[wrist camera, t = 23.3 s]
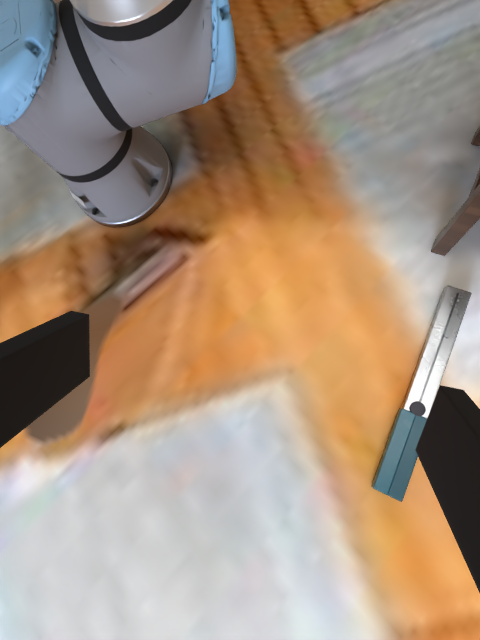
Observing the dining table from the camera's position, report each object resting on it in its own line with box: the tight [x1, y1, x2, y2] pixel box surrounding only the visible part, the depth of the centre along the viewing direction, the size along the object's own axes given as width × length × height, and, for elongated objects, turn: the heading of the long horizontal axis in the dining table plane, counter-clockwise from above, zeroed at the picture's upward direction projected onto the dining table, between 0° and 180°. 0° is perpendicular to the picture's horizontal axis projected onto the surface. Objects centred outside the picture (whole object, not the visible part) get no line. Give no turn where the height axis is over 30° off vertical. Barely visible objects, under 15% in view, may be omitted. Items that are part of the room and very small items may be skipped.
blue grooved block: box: [372, 286, 471, 502], centre depth 38 cm, size 24×3×1 cm, turn 156°
